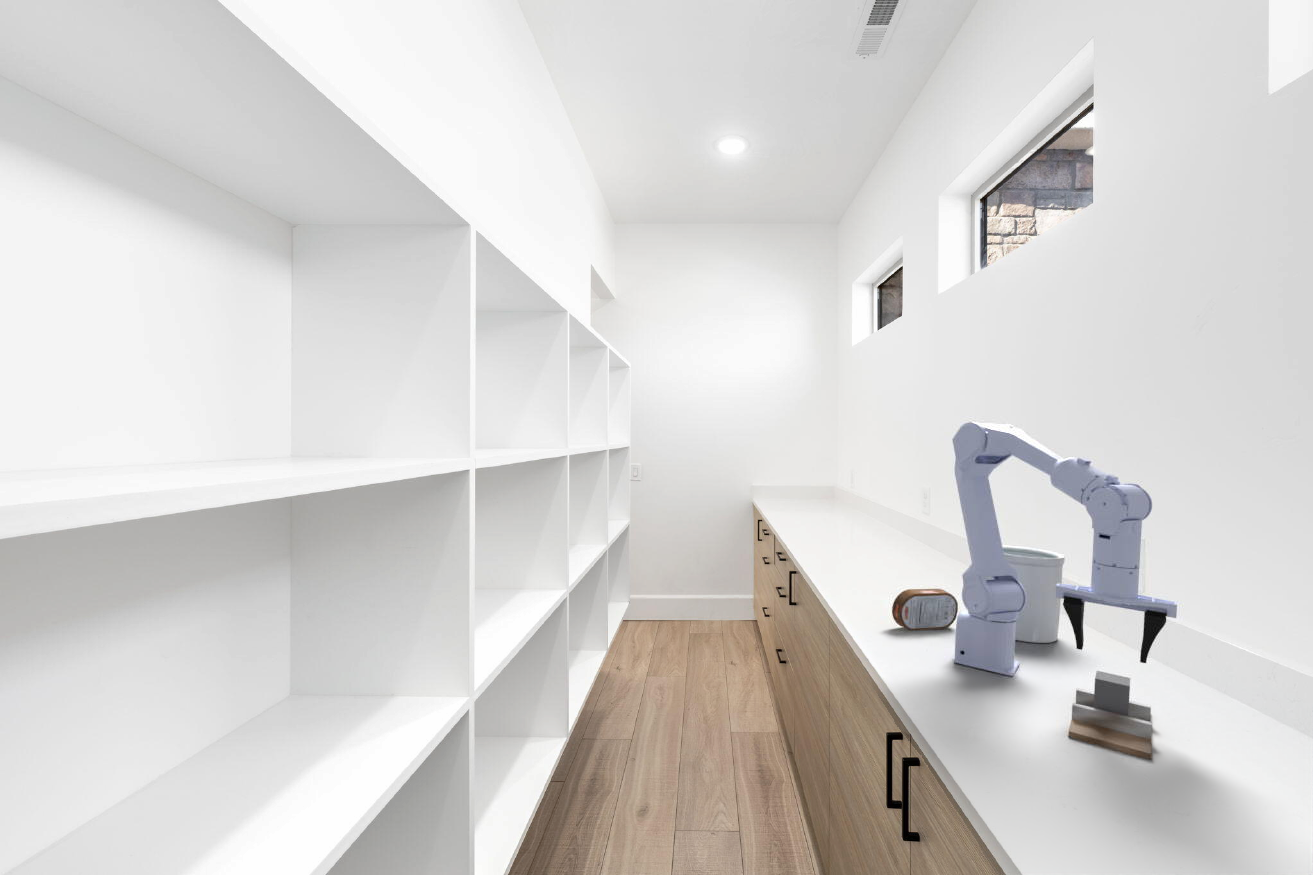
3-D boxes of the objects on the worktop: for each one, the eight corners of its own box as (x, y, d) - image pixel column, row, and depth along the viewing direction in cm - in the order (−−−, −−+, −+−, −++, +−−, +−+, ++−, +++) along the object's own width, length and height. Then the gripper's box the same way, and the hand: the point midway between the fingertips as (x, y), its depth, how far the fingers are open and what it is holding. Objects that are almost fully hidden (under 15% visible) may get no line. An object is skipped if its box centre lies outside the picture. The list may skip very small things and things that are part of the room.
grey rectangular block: (1093, 719, 90) (1095, 678, 90) (1094, 710, 93) (1096, 670, 93) (1127, 728, 88) (1129, 686, 87) (1128, 718, 91) (1130, 677, 91)
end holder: (1068, 736, 86) (1069, 716, 86) (1078, 695, 100) (1079, 678, 100) (1151, 759, 81) (1152, 738, 81) (1149, 712, 95) (1150, 694, 95)
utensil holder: (985, 617, 143) (989, 541, 142) (1062, 631, 134) (1066, 551, 134) (974, 633, 131) (978, 550, 131) (1058, 650, 122) (1062, 561, 122)
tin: (949, 624, 136) (951, 586, 136) (959, 629, 133) (961, 590, 133) (890, 628, 132) (891, 589, 132) (899, 633, 129) (901, 592, 129)
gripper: (1054, 560, 94) (1050, 648, 95) (1179, 577, 85) (1174, 675, 85) (1060, 553, 100) (1056, 637, 100) (1177, 569, 91) (1172, 661, 91)
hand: (1110, 654), depth 93 cm, fingers open, 7 cm apart
